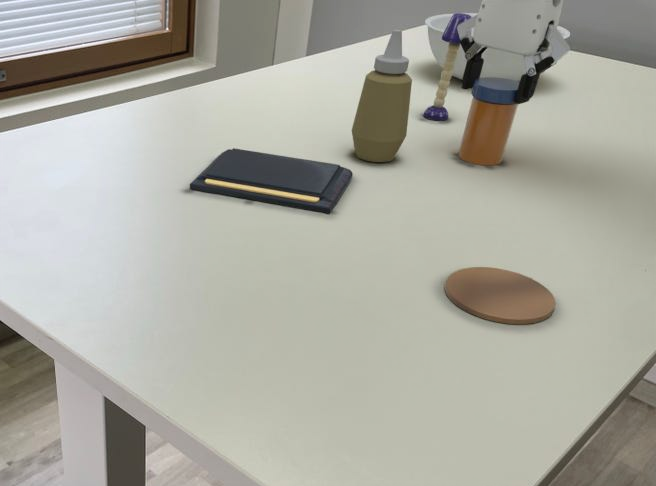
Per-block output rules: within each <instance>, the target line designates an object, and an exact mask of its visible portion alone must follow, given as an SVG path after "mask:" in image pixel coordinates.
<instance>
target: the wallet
mask: <svg viewBox="0 0 656 486" xmlns="http://www.w3.org/2000/svg"><path fill="white" fill-rule="evenodd" d="M353 174H354V173H353V171H352V170H351V169H349V168H347V167H344V166H341V164H338V163H337V164H336V163H330V162H325V161H324V162H323V161H318V160H311V159H304V158H298V157H291V156H286V155H279V154H272V153H268V152H267V153H266V152H259V151H254V150H246V149H242V148H241V149H240V148H236V147H235V148H234V147H233V148H231V149H230V148H228V149H226V150H224V151H223V152H221V153H220V154H219V155H218V156H217V157H216V158H214V160H213V161H212V162H211V163H210V164H209V165H207V167H206V168H205V169H204V170H202V171H201V172H200V174H199V175H197V176H196V177H195V178H194V179H193V180H192V181H191V183H189V189H190V190H195V191H200V192H205V193H210V194H217V195H223V196H229V197H233V198H241V199H245V200H252V201H256V202H263V203H268V204H274V205H279V206H285V207H290V208H297V209H301V210H307V211H314V212H318V213H319V212H320V213H323V214H330V213H331V211H332V210H333V208H335V206H337V204H338V202H339V200H340V199H341V197H342V196H343V194H344V192H345V190H346V189H347V187H348V186H349V184H350V182H351V181H352V178H353Z"/></svg>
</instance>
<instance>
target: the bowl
mask: <svg viewBox="0 0 656 486" xmlns="http://www.w3.org/2000/svg"><path fill="white" fill-rule="evenodd" d="M460 13H461V14H468V15H470V16H471V18H472V17H474V16H476V15H477V14H478V13H479V12H460ZM454 14H456V13H443V14H436V15H432V16H429V17H427V18H426V19H425V20H424V23H425V25H426V26H427V36H428V43H429V48H430V50H431V53H432V55H433V57H434V59H435V61H436V62H437V64H438V65H439V66H440V68H441V69H442V70H443V69H444V68H443V66H444V62H445V61H446V54H447V52H448V51H449V50H448V46H449V42H446V41H443V40H442V35H443V33H444V31H445V29H446V27H447V25H448V23H449V21H450V19H451V18H452V16H453V15H454ZM557 30H558V32H559V33H560V34H561V36H562V37H563V38H564V40H567V39H568V38H569V37H570V36H571V32H570V30H568V29H566V28H565V27H562V26H560V25H558V27H557ZM473 32H474V28H472V30H471V36H472V37H473ZM552 51H553V47H552V46H551V48H550V49H549V50H548V51H545V52H542V53H543V58H546V57H548V56H549V55H550V54H551V53H552ZM481 58H483V59H484V63H483V67H482V70H481V74H480V78H484V77H497V78H505V79H511V80H515V81H518V82H520V80H521V77H522V75H524V74H526V72H527V70H526V66H525V62H524V57H523V55H518V54H514V53H509V52H505V51H501V50H497V49H492V48H488V49H487V51H486V52H485V53H484V54H483V55H482V57H481ZM466 63H467V60H466V59H465V52H464V50H463V48H462V46H461V44H460V47H459V49H458V51H457V58H456V60H455V66H454V68H453V70H452V77H454V78H456V79H459V80H461V81H463V75H464V71H465V67H466Z"/></svg>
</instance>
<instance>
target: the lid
mask: <svg viewBox="0 0 656 486" xmlns="http://www.w3.org/2000/svg"><path fill="white" fill-rule="evenodd" d="M519 83H520V81H515V80H511V79H505V78H497V77H484V78H479V79H476V80H475V83H474V85H473V88H471V94H470V95H471V96H472V98H473V97H475V98H477V99H479V100H482V101H486V102H491V103H499V104H513V103H515V102H514V100H515V96H516V93H517V90H518V86H519Z"/></svg>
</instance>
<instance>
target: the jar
mask: <svg viewBox="0 0 656 486" xmlns="http://www.w3.org/2000/svg"><path fill="white" fill-rule="evenodd" d="M518 107H519V104H515V103H513V104H499V103H491V102H486V101H482V100H479V99H477V98H475V97H473V96H472V99H471V103H470V107H469V111H468V115H467V118H466V122H465V127H464V131H463V134H462V138H461V142H460V146H459V151H458V153H457V155H458V158H459V159H460V160H462V161H464V162H466V163H469V164H474V165H478V166H496V165H499V164H501V163H502V161H503V158H504V155H505V150H506V147H507V144H508V141H509V138H510V134H511V130H512V127H513V124H514V120H515V117H516V114H517V110H518Z"/></svg>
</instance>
